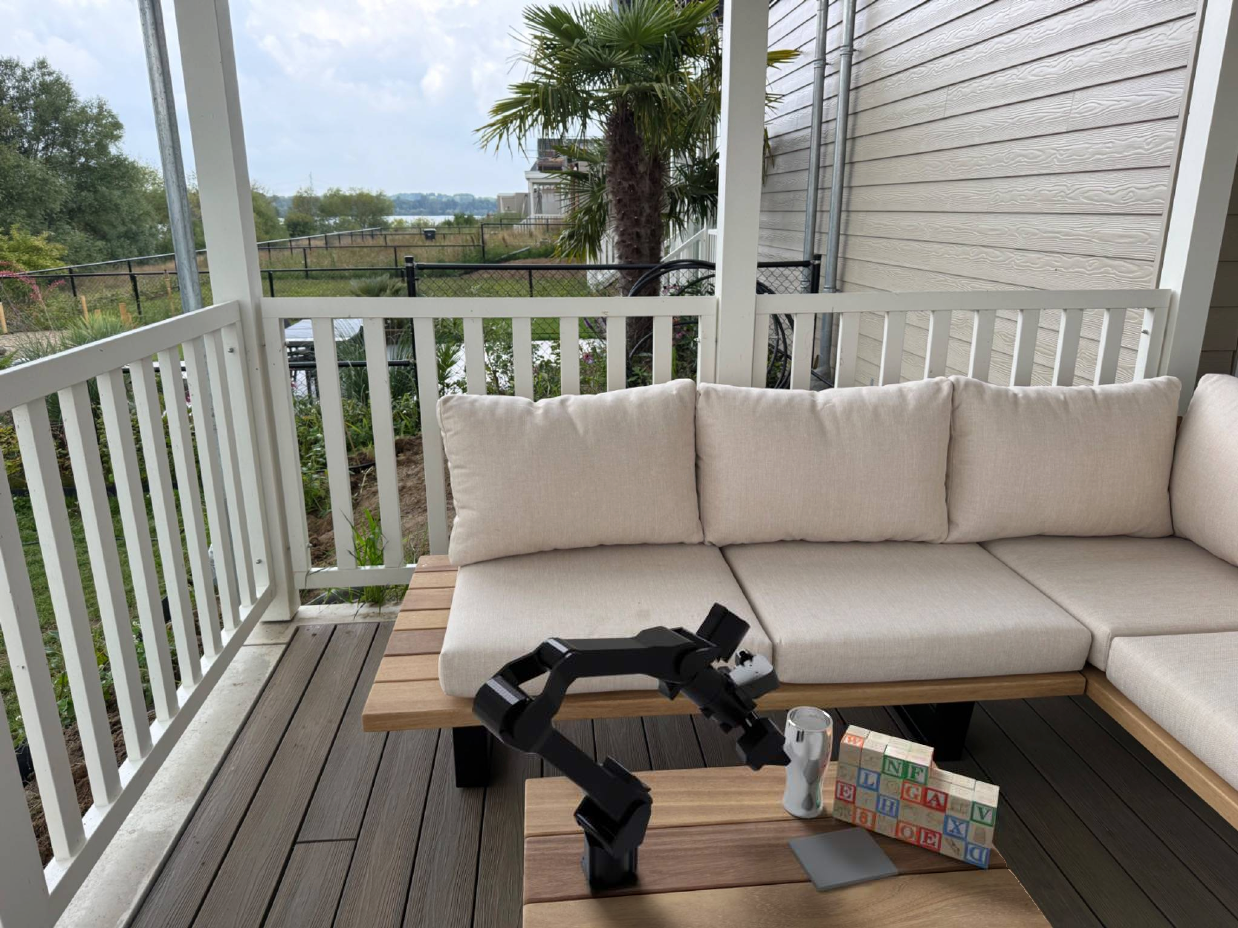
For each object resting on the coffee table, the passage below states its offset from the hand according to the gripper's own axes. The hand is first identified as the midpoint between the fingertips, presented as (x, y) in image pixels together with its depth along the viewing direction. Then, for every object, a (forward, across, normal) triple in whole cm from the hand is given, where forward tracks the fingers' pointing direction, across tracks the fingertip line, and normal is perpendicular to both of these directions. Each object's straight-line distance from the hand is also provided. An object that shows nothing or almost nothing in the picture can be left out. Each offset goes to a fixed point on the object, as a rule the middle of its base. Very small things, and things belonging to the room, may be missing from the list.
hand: (774, 743), depth 118 cm
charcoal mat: (+12, -12, +4) cm, 17 cm away
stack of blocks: (+20, -10, -4) cm, 23 cm away
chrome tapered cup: (+12, 0, +4) cm, 13 cm away
